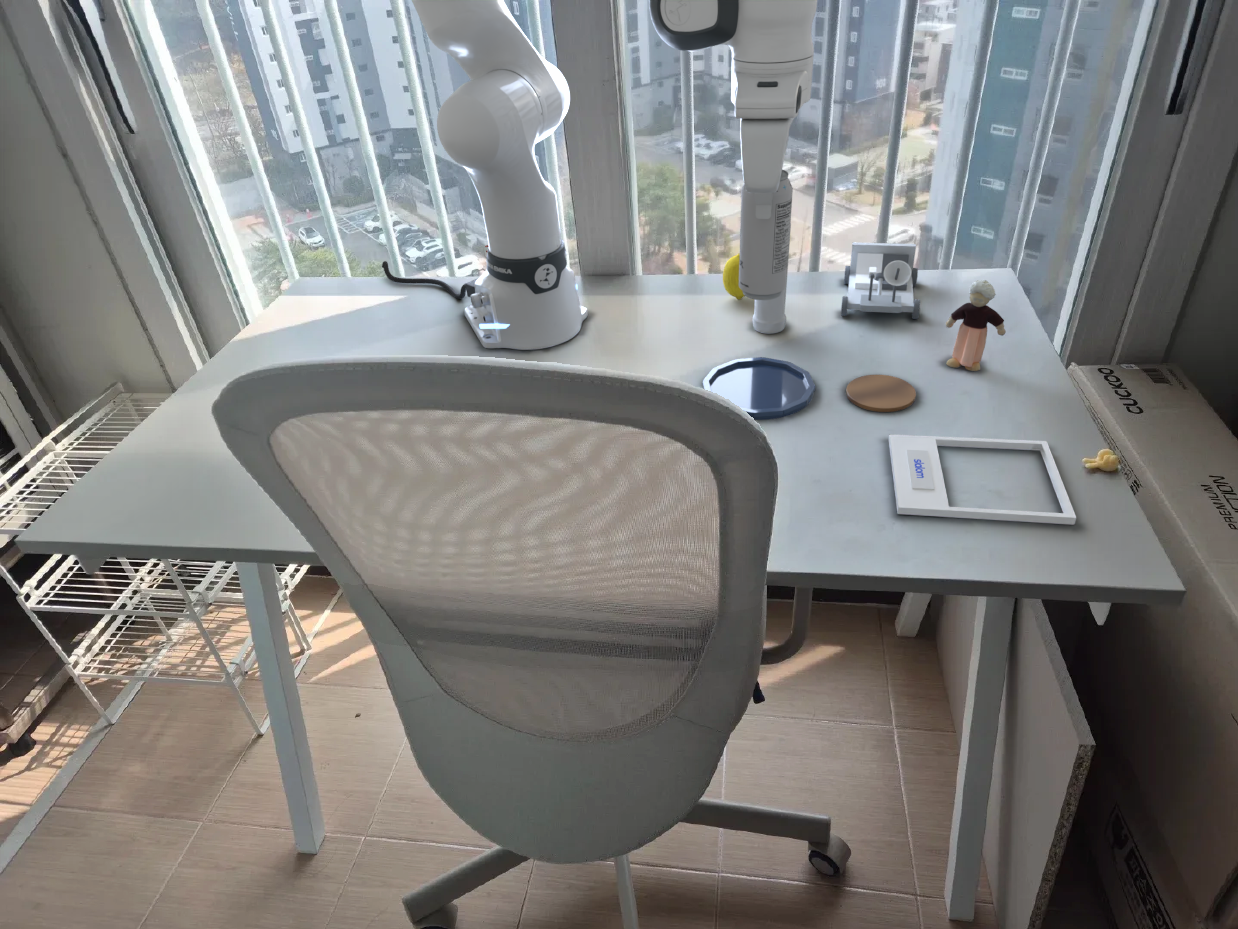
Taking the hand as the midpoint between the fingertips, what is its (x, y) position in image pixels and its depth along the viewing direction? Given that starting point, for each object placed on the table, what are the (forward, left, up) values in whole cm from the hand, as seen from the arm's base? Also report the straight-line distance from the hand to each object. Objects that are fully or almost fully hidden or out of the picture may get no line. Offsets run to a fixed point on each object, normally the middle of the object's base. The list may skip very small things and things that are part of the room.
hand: (766, 206), depth 103 cm
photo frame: (+31, +6, -26) cm, 41 cm away
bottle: (-14, +14, -26) cm, 33 cm away
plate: (0, 0, -26) cm, 26 cm away
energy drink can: (0, 0, -11) cm, 11 cm away
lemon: (-25, +17, -26) cm, 40 cm away
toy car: (-9, +33, -26) cm, 43 cm away
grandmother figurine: (+13, +27, -26) cm, 39 cm away
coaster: (+11, +12, -26) cm, 30 cm away
